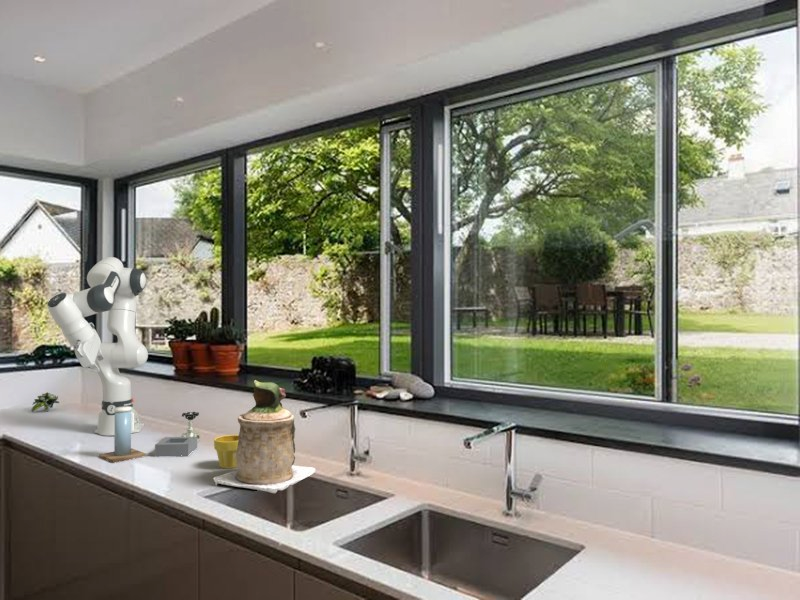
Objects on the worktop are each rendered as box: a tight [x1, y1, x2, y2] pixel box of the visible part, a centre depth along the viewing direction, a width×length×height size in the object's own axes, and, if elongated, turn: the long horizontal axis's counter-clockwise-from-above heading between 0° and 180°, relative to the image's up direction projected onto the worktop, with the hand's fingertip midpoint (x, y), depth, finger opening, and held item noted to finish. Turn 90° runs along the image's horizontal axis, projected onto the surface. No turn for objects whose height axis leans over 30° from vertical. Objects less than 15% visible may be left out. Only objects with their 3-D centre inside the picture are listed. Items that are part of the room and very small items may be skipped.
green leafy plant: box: [30, 391, 60, 413], centre depth 311 cm, size 11×11×12 cm
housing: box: [154, 436, 198, 457], centre depth 227 cm, size 12×12×4 cm
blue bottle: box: [113, 406, 132, 456], centre depth 221 cm, size 6×6×17 cm
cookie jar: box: [212, 379, 316, 494], centre depth 194 cm, size 25×25×32 cm
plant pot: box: [213, 434, 239, 469], centre depth 209 cm, size 10×10×10 cm
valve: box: [180, 411, 201, 444], centre depth 242 cm, size 7×7×12 cm
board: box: [98, 447, 147, 464], centre depth 221 cm, size 12×12×1 cm
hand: (99, 365), depth 225 cm, fingers open, 8 cm apart
